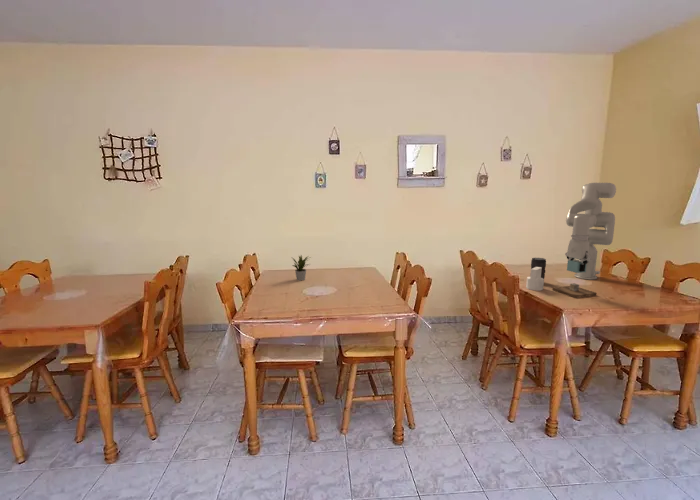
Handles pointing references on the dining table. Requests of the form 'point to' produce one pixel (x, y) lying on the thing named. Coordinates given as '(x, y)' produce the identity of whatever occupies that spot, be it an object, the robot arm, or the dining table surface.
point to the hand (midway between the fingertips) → (576, 269)
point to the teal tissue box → (574, 266)
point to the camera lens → (539, 265)
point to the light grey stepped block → (535, 279)
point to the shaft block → (574, 291)
